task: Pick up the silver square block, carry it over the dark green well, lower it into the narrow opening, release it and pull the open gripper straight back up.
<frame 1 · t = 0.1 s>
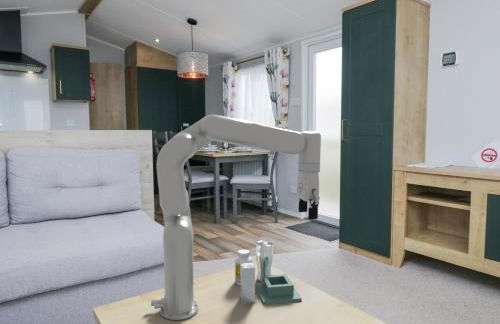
hand: (307, 215, 126), 31 cm above the table, tool pointing down, fingers open, 9 cm apart
beer glass: (264, 279, 146), on the table
supplement bottle: (243, 282, 143), on the table
silver square block: (247, 300, 129), on the table
well: (277, 293, 134), on the table
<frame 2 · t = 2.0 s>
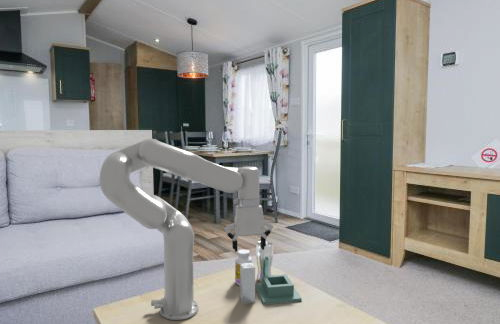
hand: (249, 249, 127), 19 cm above the table, tool pointing down, fingers open, 9 cm apart
nothing on the table moved.
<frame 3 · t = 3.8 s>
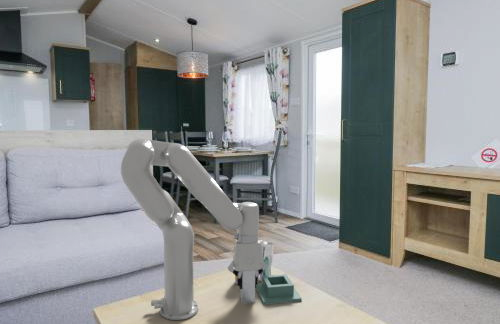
hand: (247, 286, 128), 5 cm above the table, tool pointing down, fingers closed on silver square block, 4 cm apart
silver square block: (247, 300, 129), on the table, touching gripper
everything else where it was.
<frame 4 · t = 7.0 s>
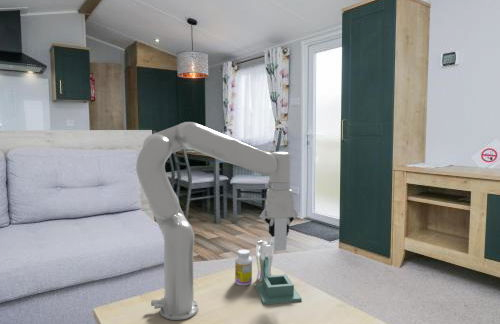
hand: (278, 234, 131), 23 cm above the table, tool pointing down, fingers closed on silver square block, 4 cm apart
silver square block: (278, 248, 132), point 18 cm above the table, touching gripper
everything else where it was.
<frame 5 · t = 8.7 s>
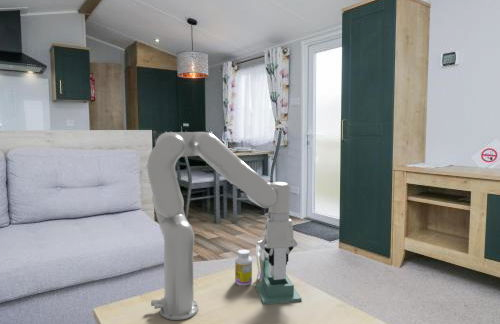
hand: (278, 263, 133), 12 cm above the table, tool pointing down, fingers closed on silver square block, 4 cm apart
silver square block: (278, 276, 133), point 6 cm above the table, touching gripper
everything else where it was.
when the fingers open (7 cm above the table, at t = 10.0 s): silver square block stays where it is, resting on well.
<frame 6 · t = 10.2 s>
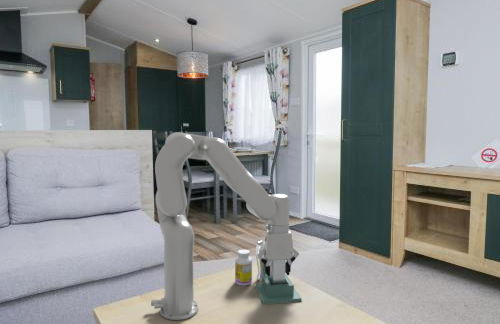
hand: (277, 274, 133), 7 cm above the table, tool pointing down, fingers open, 6 cm apart
silver square block: (277, 290, 134), point 1 cm above the table, touching well
everything else where it was.
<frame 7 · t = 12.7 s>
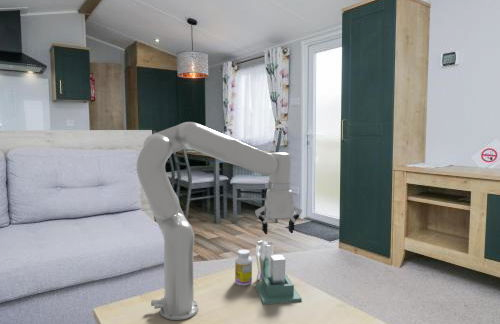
hand: (278, 232, 131), 23 cm above the table, tool pointing down, fingers open, 9 cm apart
nothing on the table moved.
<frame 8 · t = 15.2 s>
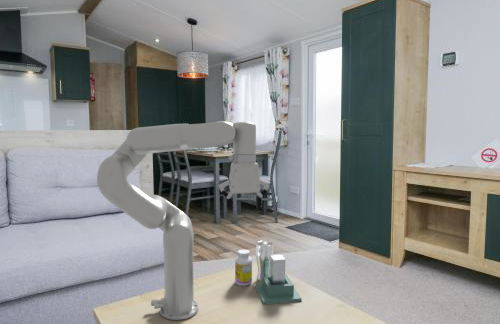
hand: (244, 209, 122), 34 cm above the table, tool pointing down, fingers open, 9 cm apart
nothing on the table moved.
at the end: silver square block 0.1 cm off-centre on the well, point 1.0 cm above the well's base; silver square block tilted 0°; the gripper is holding nothing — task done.
